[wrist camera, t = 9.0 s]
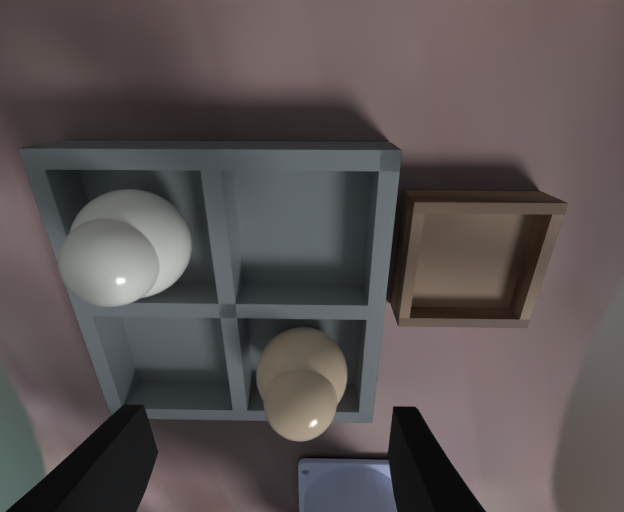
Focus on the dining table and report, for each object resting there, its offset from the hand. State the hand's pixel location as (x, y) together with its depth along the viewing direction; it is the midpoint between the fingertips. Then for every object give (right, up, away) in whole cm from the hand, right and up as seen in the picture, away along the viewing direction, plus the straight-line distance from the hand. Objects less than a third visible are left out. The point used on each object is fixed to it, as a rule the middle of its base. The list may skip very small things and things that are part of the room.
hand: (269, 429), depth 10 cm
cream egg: (-6, +7, +7) cm, 11 cm away
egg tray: (-3, +4, +9) cm, 10 cm away
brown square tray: (+9, +5, +8) cm, 13 cm away
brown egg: (+1, 0, +10) cm, 10 cm away
